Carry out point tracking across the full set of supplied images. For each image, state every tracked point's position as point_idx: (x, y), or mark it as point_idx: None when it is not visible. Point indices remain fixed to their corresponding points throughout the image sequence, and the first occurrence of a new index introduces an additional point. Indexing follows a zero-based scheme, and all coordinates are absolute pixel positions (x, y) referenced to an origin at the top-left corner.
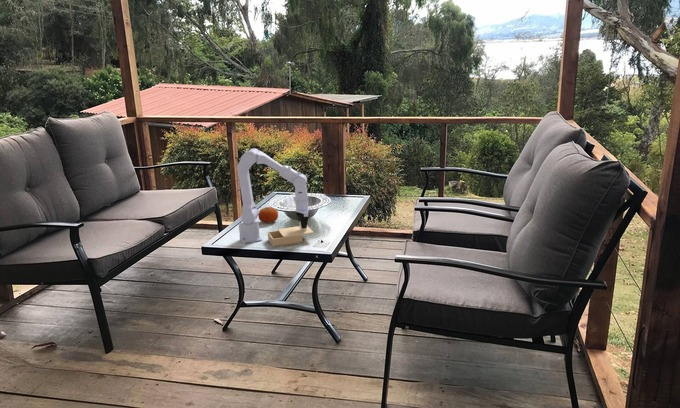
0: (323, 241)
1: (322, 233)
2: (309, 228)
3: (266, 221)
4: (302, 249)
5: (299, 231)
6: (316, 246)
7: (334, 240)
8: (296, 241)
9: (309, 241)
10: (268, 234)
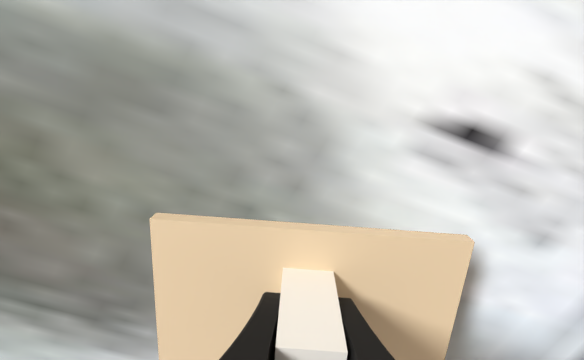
0: (481, 122)
1: (237, 37)
2: (304, 234)
3: None
4: (542, 332)
5: None
6: (560, 224)
7: (530, 5)
8: None
9: None
10: None
